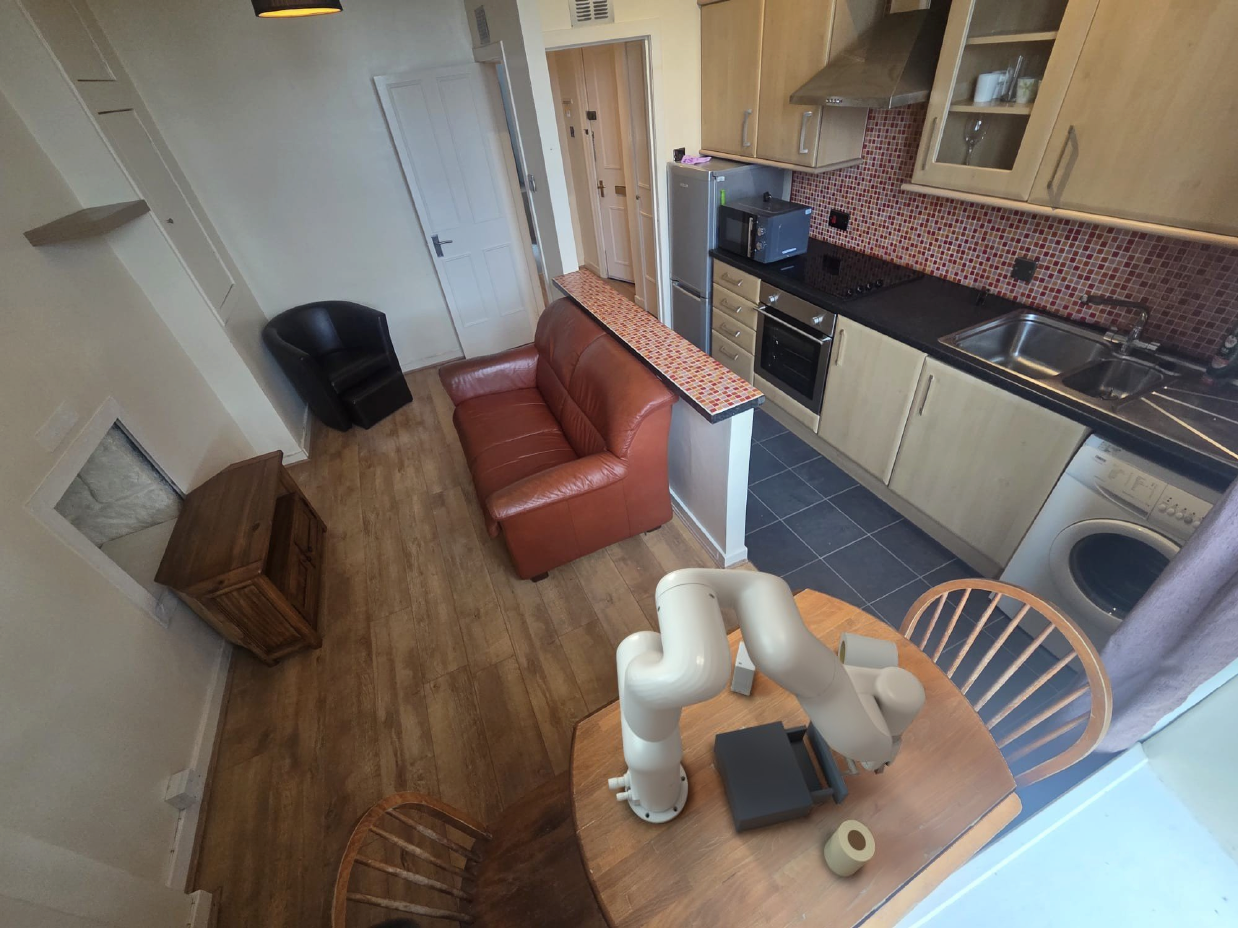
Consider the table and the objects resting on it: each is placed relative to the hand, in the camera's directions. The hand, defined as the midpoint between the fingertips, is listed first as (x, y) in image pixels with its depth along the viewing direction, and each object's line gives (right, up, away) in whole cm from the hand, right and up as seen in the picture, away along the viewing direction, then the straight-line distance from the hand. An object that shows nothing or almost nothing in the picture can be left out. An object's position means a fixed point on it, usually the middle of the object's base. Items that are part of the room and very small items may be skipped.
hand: (856, 754), depth 100 cm
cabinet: (-19, -6, +1) cm, 20 cm away
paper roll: (-7, -14, -8) cm, 18 cm away
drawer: (-10, -4, +1) cm, 10 cm away
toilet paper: (+8, +10, +16) cm, 21 cm away
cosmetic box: (-19, +7, +16) cm, 26 cm away
